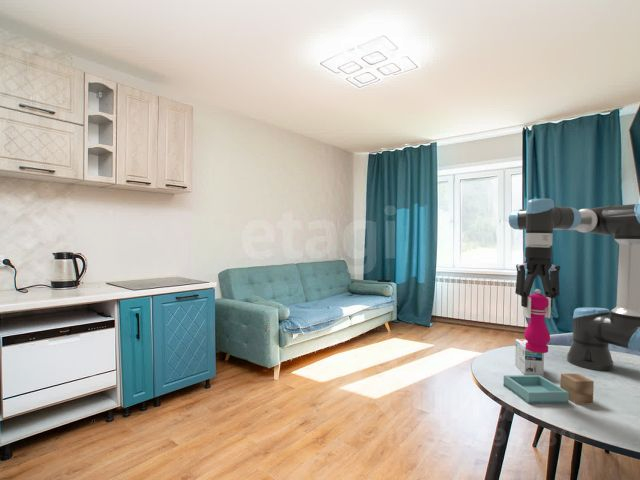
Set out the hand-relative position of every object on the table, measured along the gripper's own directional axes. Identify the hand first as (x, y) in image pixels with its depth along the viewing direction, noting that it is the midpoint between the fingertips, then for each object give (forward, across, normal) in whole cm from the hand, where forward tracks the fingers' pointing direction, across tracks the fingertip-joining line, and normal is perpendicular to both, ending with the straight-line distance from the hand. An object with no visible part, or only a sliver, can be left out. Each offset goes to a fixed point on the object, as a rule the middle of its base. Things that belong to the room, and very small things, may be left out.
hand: (536, 316), depth 113 cm
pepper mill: (+11, 0, 0) cm, 11 cm away
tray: (+25, 0, 0) cm, 25 cm away
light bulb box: (+26, +12, +20) cm, 34 cm away
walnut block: (+25, +12, -4) cm, 28 cm away
